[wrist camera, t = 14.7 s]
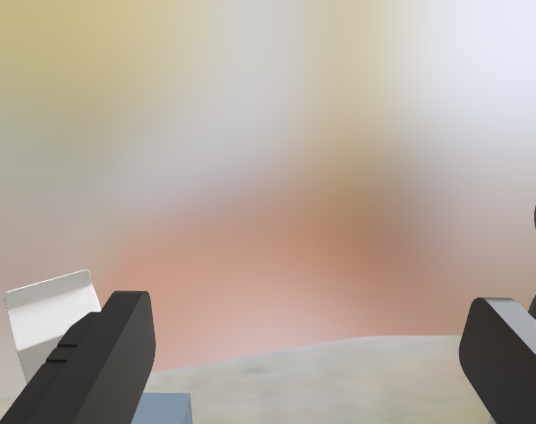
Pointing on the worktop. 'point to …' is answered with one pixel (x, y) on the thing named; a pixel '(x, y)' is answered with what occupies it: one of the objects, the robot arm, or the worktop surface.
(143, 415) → the post
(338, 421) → the worktop surface
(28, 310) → the milk
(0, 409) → the worktop surface
